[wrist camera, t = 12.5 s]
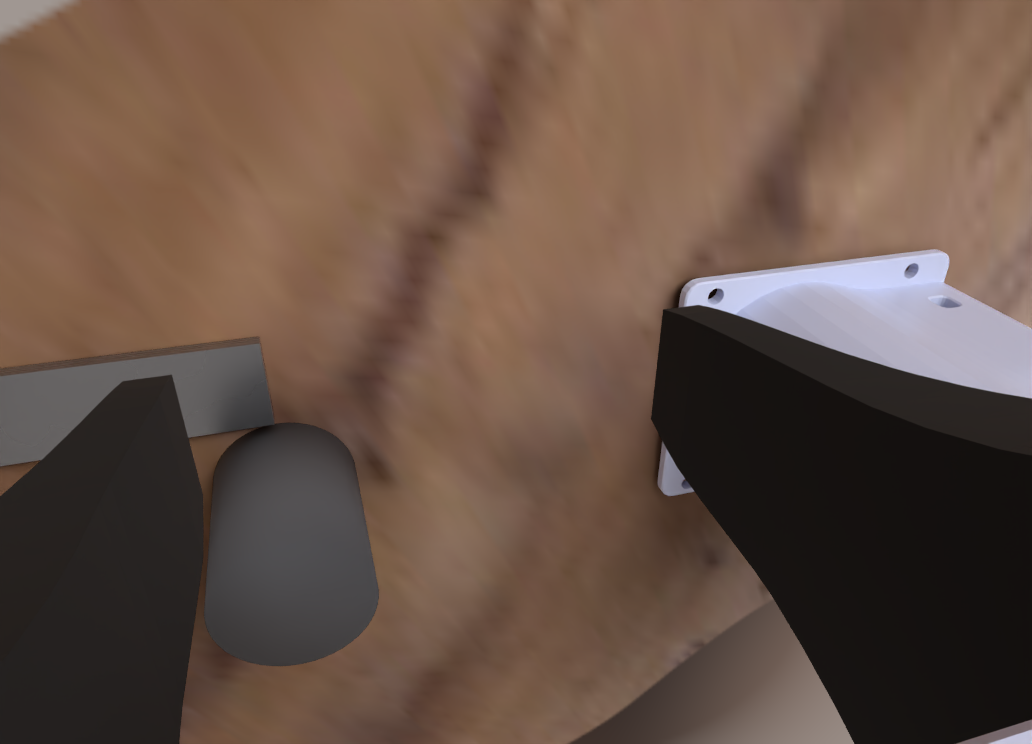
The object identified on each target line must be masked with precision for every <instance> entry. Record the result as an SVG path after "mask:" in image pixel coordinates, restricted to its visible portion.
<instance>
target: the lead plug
mask: <svg viewBox="0 0 1032 744" xmlns="http://www.w3.org/2000/svg"><path fill="white" fill-rule="evenodd" d="M378 599H379V589H378V584H377V579H376V573H375V568H374V563H373V557H372V552H371V547H370V542H369V536H368V531H367V526H366V521H365V515H364V510H363V505H362V499H361V494H360V489H359V484H358V478H357V473H356V468H355V463H354V460H353V457H352V455H351V453H350V452H349V450H348V448H347V447H346V446H345V445H344V444H343V443H342V442H341V441H340V440H339V439H338V438H337V437H335V436H334V435H333V434H331V433H329V432H327V431H325V430H323V429H321V428H318V427H315V426H311V425H307V424H301V423H278V424H275V425H268V426H264V427H261V428H258V429H256V430H253V431H251V432H249V433H247V434H245V435H244V436H242V437H240V438H239V439H238V440H236V441H235V442H234V443H233V444H232V445H231V446H229V447H228V448H227V450H226V451H225V452H224V453H223V455H222V456H221V458H220V460H219V461H218V464H217V466H216V469H215V472H214V477H213V492H212V506H211V521H210V535H209V549H208V564H207V578H206V593H205V607H204V618H205V624H206V627H207V630H208V632H209V634H210V636H211V637H212V639H213V640H214V641H215V642H216V644H217V645H218V646H219V647H221V648H222V649H223V650H224V651H226V652H227V653H229V654H231V655H232V656H234V657H236V658H239V659H241V660H244V661H247V662H250V663H254V664H259V665H267V666H289V665H297V664H303V663H307V662H311V661H315V660H318V659H321V658H323V657H326V656H328V655H330V654H332V653H335V652H336V651H338V650H340V649H342V648H343V647H345V646H346V645H348V644H349V643H351V642H352V641H353V640H354V639H355V638H357V637H358V636H359V635H360V634H361V633H362V632H363V630H364V629H365V628H366V627H367V625H368V624H369V623H370V621H371V619H372V617H373V616H374V614H375V611H376V608H377V605H378Z"/></svg>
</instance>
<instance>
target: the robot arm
mask: <svg viewBox="0 0 1032 744" xmlns="http://www.w3.org/2000/svg"><path fill="white" fill-rule="evenodd" d="M909 265H910V266H909ZM908 266H909V268H908V270H907V271H906V272H905V270H906V268H907V267H908ZM948 267H949V257H948V255H947V254H946V253H944V252H942V251H940V250H936V249H932V250H923V251H915V252H907V253H899V254H891V255H883V256H875V257H866V258H858V259H850V260H842V261H834V262H826V263H818V264H809V265H801V266H793V267H785V268H777V269H769V270H761V271H753V272H744V273H736V274H728V275H720V276H712V277H704V278H697V279H693V280H691V281H689V282H688V283H687V284H686V285H685V286H684V287H683V289H682V291H681V294H680V300H679V308H671V309H664V310H663V316H662V325H661V334H660V344H659V353H658V362H657V371H656V380H655V389H654V398H653V407H652V416H651V420H652V422H653V423H654V425H655V427H656V429H657V431H658V433H659V435H660V437H661V439H662V449H661V457H660V465H659V474H658V487H659V488H660V489H661V491H662V492H663V493H664V494H665V495H667V496H675V495H680V494H685V493H690V492H695V493H696V494H697V495H698V497H699V498H700V499H701V501H702V502H703V503H704V505H705V506H706V507H707V509H708V510H709V511H710V513H711V514H712V515H713V517H714V518H715V519H716V521H717V522H718V523H719V524H720V526H721V527H722V528H723V530H724V531H725V532H726V534H727V535H728V536H729V538H730V539H731V540H732V542H733V543H734V544H735V545H736V547H737V548H738V549H739V551H740V552H741V553H742V555H743V556H744V557H745V559H746V560H747V561H748V563H749V564H750V565H751V566H752V568H753V569H754V570H755V572H756V573H757V575H758V576H759V578H760V579H761V581H762V582H763V583H764V585H765V586H766V588H767V589H768V591H769V592H770V594H771V595H772V597H773V598H774V600H775V602H776V603H777V605H778V607H779V608H780V610H781V612H782V613H783V615H784V617H785V618H786V620H787V622H788V623H789V625H790V627H791V629H792V630H793V632H794V633H795V635H796V637H797V639H798V640H799V642H800V644H801V645H802V647H803V649H804V650H805V652H806V654H807V656H808V658H809V660H810V661H811V663H812V665H813V667H814V669H815V670H816V672H817V674H818V676H819V678H820V679H821V681H822V683H823V685H824V686H825V688H826V690H827V692H828V694H829V696H830V697H831V699H832V701H833V703H834V705H835V706H836V708H837V710H838V712H839V714H840V716H841V718H842V720H843V722H844V724H845V726H846V728H847V730H848V732H849V734H850V736H851V738H852V740H853V742H854V744H1032V328H1030V327H1028V326H1026V325H1024V324H1022V323H1020V322H1018V321H1016V320H1014V319H1012V318H1010V317H1009V316H1007V315H1005V314H1003V313H1001V312H999V311H997V310H995V309H993V308H991V307H989V306H987V305H985V304H984V303H982V302H980V301H978V300H976V299H974V298H972V297H970V296H968V295H966V294H964V293H962V292H960V291H959V290H957V289H955V288H953V287H951V286H949V285H947V284H945V283H944V280H945V277H946V273H947V270H948ZM904 272H905V273H904ZM716 288H717V292H716V294H715V295H714V296H713V297H712V298H710V299H708V296H709V293H710V292H711V291H712V290H714V289H716ZM684 479H686V481H683V480H684ZM202 563H203V493H202V490H201V486H200V482H199V478H198V474H197V470H196V466H195V462H194V458H193V455H192V451H191V447H190V443H189V439H188V435H187V431H186V427H185V423H184V420H183V416H182V412H181V408H180V404H179V400H178V396H177V392H176V388H175V385H174V381H173V377H172V375H165V376H158V377H150V378H143V379H135V380H128V381H122V382H121V383H120V384H119V385H118V386H116V387H115V388H114V389H113V390H112V391H111V392H110V393H109V394H108V395H107V396H106V397H105V398H104V399H103V400H102V401H101V402H100V403H99V404H98V405H97V406H96V407H95V408H94V409H93V410H92V411H91V412H90V413H89V414H88V415H87V416H86V417H85V418H84V419H83V420H82V421H81V422H80V423H79V424H78V425H77V426H76V427H75V428H74V429H73V430H72V431H71V432H70V433H69V434H68V435H67V436H66V437H65V438H64V439H63V440H62V441H61V442H60V443H59V444H58V445H57V446H56V447H55V448H54V449H53V450H52V451H51V452H49V453H48V454H47V455H46V456H45V457H44V458H43V459H42V460H41V461H40V462H39V463H38V464H37V465H36V466H35V467H33V468H32V469H31V470H30V471H29V472H28V473H27V474H25V475H24V476H23V477H22V478H21V479H20V480H19V481H17V482H16V483H15V484H14V485H13V486H12V487H11V488H9V489H8V490H7V491H6V492H5V493H4V494H3V495H1V496H0V744H179V737H180V726H181V716H182V705H183V697H184V691H185V684H186V677H187V670H188V663H189V656H190V649H191V642H192V635H193V628H194V621H195V614H196V607H197V600H198V593H199V585H200V578H201V571H202Z"/></svg>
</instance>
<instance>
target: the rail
mask: <svg viewBox="0 0 1032 744" xmlns="http://www.w3.org/2000/svg"><path fill="white" fill-rule="evenodd" d="M165 375H172V377H173V381H174V385H175V388H176V392H177V396H178V400H179V404H180V408H181V412H182V416H183V420H184V423H185V427H186V431H187V435H188V438H189V437H196V436H202V435H209V434H215V433H222V432H229V431H235V430H242V429H248V428H255V427H261V426H268V425H275V422H274V413H273V407H272V402H271V397H270V391H269V386H268V380H267V375H266V370H265V364H264V359H263V353H262V348H261V343H260V337H252V338H244V339H236V340H228V341H220V342H212V343H204V344H196V345H188V346H180V347H172V348H163V349H155V350H147V351H139V352H131V353H123V354H115V355H107V356H99V357H91V358H83V359H75V360H67V361H59V362H51V363H43V364H35V365H27V366H19V367H11V368H3V369H0V466H5V465H12V464H18V463H25V462H31V461H38V460H42V459H43V458H44V457H45V456H46V455H47V454H48V453H49V452H51V451H52V450H53V449H54V448H55V447H56V446H57V445H58V444H59V443H60V442H61V441H62V440H63V439H64V438H65V437H66V436H67V435H68V434H69V433H70V432H71V431H72V430H73V429H74V428H75V427H76V426H77V425H78V424H79V423H80V422H81V421H82V420H83V419H84V418H85V417H86V416H87V415H88V414H89V413H90V412H91V411H92V410H93V409H94V408H95V407H96V406H97V405H98V404H99V403H100V402H101V401H102V400H103V399H104V398H105V397H106V396H107V395H108V394H109V393H110V392H111V391H112V390H113V389H114V388H115V387H116V386H118V385H119V384H120V383H121V382H122V381H128V380H135V379H143V378H150V377H158V376H165Z"/></svg>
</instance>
